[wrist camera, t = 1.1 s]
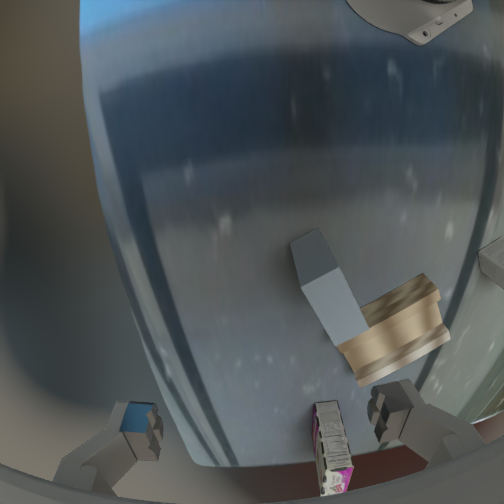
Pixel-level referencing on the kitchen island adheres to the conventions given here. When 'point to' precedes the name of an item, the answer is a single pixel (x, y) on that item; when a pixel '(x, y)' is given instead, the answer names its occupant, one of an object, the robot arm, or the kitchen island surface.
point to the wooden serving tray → (396, 331)
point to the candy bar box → (331, 449)
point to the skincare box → (493, 261)
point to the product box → (327, 288)
